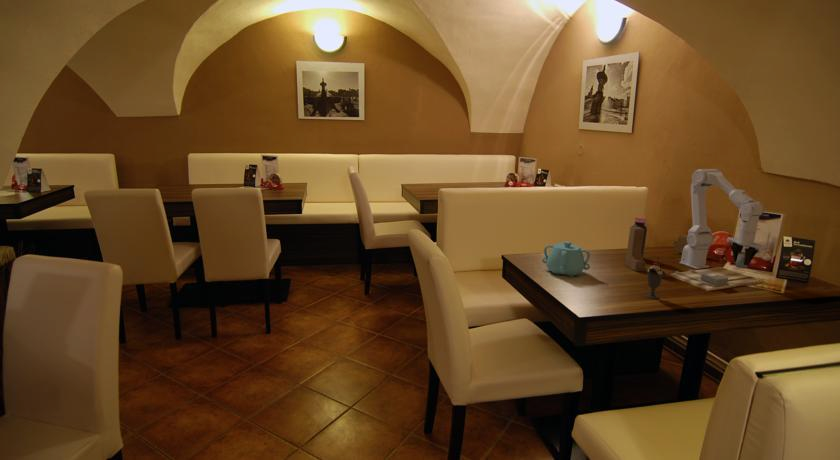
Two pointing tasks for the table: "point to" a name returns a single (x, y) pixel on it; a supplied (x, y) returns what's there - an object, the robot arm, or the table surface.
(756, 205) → the robot arm
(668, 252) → the table surface
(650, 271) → the sundae
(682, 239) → the wooden carving
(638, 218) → the bottle
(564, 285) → the table surface
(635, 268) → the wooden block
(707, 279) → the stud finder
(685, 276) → the board
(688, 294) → the table surface
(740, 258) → the marker peg
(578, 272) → the decorative pot
